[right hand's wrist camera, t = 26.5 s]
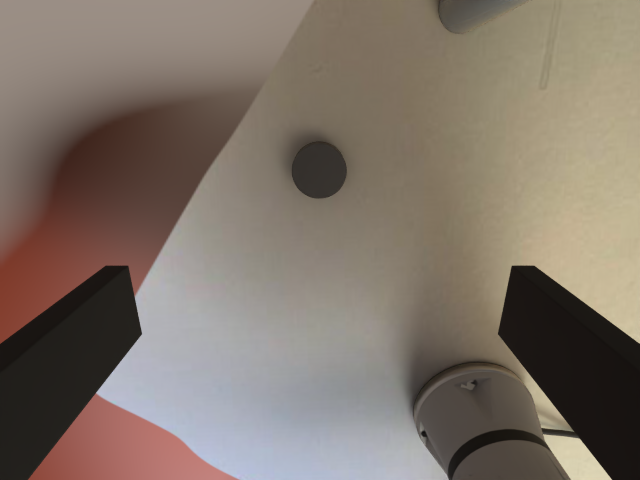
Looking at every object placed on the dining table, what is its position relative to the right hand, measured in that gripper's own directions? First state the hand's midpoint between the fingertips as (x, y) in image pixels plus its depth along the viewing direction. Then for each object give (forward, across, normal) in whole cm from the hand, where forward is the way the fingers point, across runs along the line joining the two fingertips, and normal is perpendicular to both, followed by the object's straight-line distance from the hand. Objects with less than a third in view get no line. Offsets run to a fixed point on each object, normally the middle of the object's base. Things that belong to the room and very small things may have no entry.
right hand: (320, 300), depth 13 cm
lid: (+25, 0, 0) cm, 25 cm away
